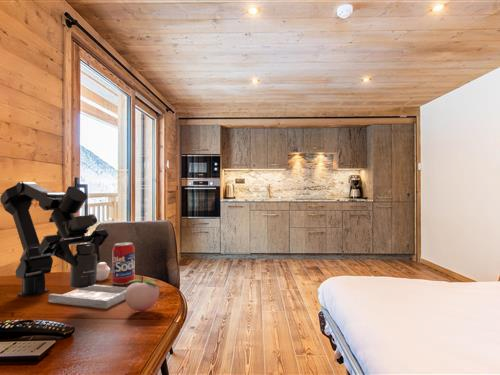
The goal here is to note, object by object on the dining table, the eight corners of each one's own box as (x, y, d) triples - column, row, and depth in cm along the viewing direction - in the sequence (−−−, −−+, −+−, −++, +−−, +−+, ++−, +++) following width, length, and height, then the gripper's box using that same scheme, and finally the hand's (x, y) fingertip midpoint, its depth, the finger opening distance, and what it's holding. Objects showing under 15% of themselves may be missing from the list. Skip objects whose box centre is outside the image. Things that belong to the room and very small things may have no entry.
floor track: (48, 302, 92) (48, 294, 92) (81, 289, 103) (81, 283, 104) (106, 308, 86) (106, 300, 86) (134, 294, 97) (134, 288, 98)
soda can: (127, 278, 117) (127, 241, 117) (138, 282, 112) (138, 243, 113) (108, 283, 111) (108, 244, 111) (119, 287, 106) (119, 245, 106)
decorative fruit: (118, 318, 78) (118, 281, 79) (131, 307, 87) (131, 273, 87) (153, 318, 78) (153, 281, 79) (162, 306, 87) (162, 273, 87)
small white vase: (111, 280, 116) (111, 262, 116) (93, 282, 112) (93, 264, 113) (109, 276, 121) (109, 259, 121) (92, 278, 118) (92, 261, 118)
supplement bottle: (87, 289, 83) (89, 246, 84) (64, 288, 83) (66, 246, 84) (100, 282, 90) (102, 243, 90) (79, 281, 90) (81, 242, 91)
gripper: (44, 207, 81) (66, 250, 76) (105, 205, 97) (127, 240, 92) (29, 233, 85) (49, 277, 79) (90, 227, 101) (110, 263, 96)
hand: (87, 262), depth 86 cm, fingers closed on supplement bottle, 7 cm apart
